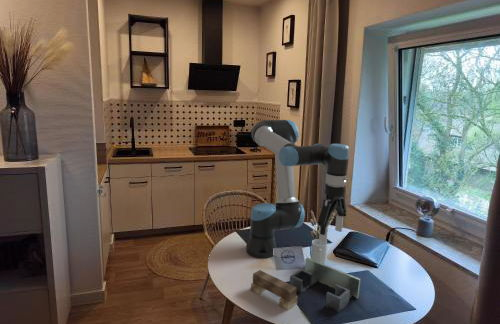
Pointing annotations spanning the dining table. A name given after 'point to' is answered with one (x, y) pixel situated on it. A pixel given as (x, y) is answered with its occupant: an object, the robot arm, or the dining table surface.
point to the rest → (282, 302)
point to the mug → (319, 251)
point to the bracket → (327, 283)
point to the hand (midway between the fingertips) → (330, 236)
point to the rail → (274, 285)
